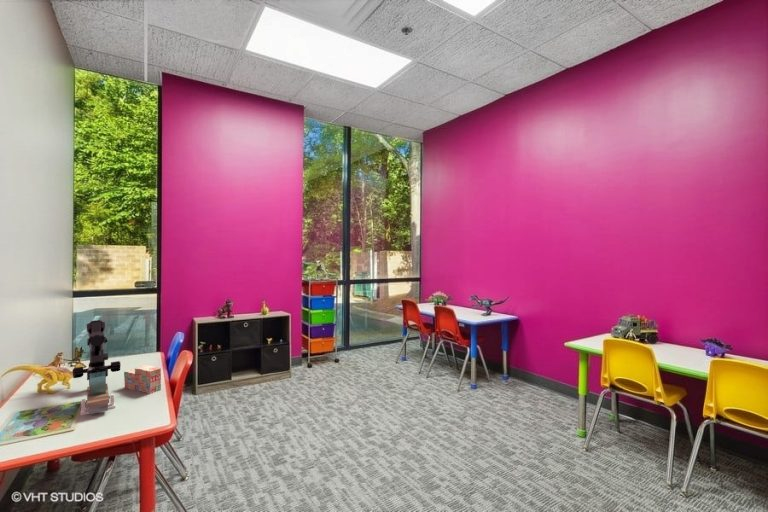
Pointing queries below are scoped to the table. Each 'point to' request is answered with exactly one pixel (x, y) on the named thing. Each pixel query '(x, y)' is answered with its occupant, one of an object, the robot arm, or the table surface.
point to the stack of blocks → (143, 379)
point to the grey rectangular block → (97, 383)
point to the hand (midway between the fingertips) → (97, 384)
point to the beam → (97, 401)
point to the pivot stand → (86, 411)
